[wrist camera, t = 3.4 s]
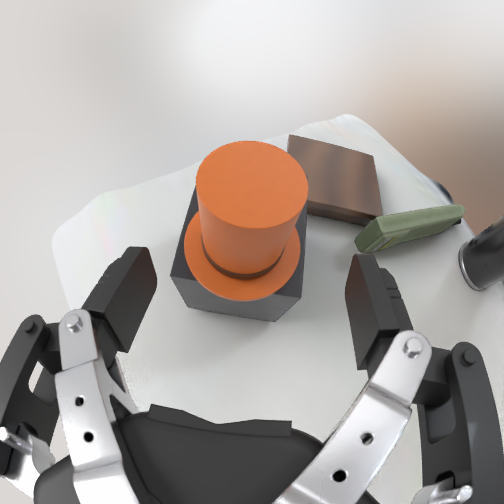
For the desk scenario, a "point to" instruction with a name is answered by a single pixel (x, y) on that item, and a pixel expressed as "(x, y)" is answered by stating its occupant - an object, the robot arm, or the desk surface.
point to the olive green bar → (407, 227)
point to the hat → (246, 220)
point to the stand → (338, 180)
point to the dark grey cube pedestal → (257, 309)
